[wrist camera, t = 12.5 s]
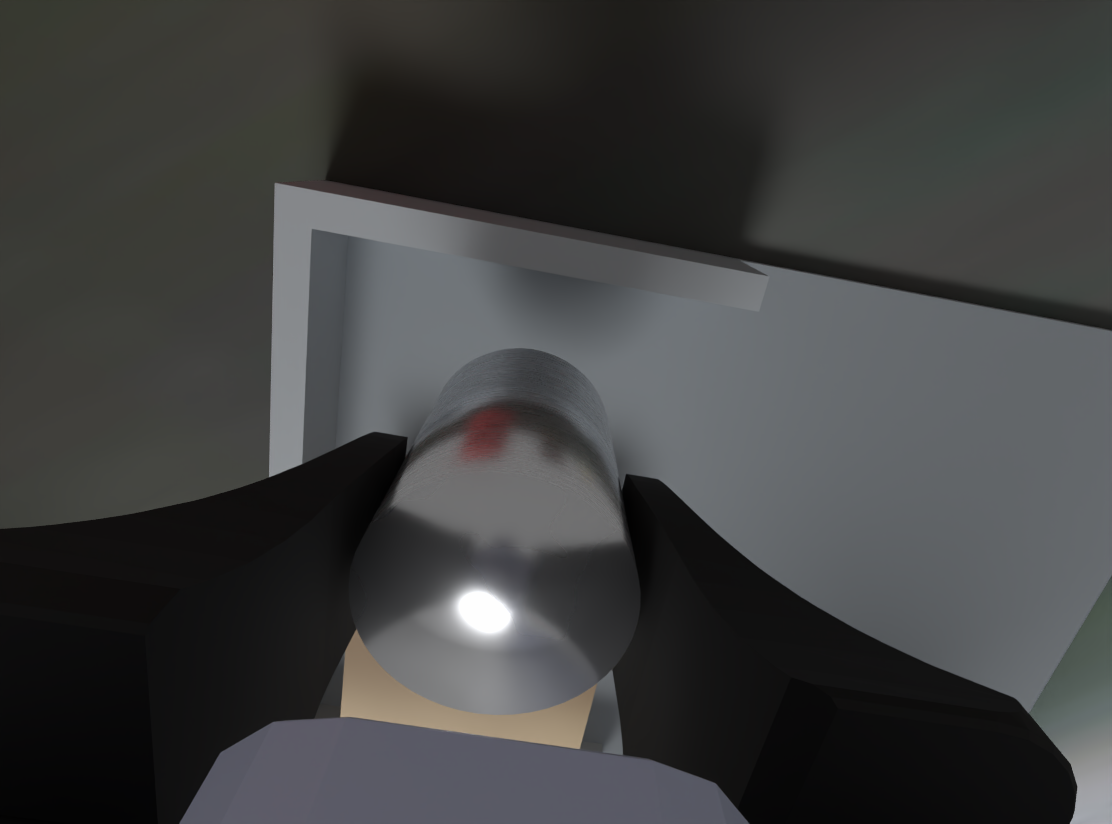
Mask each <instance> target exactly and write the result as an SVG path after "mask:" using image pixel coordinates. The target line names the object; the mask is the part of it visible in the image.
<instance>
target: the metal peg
mask: <svg viewBox="0 0 1112 824" xmlns="http://www.w3.org/2000/svg"><path fill="white" fill-rule="evenodd" d="M348 586H349V603H350V609H351V614H352V618H353V620H354V623H355V626H356V629H357V631H358V633H359V635H360V637H361V639H362V641H363V643H364V645H365V646H366V648H367V649H368V651H369V652H370V654H371V655H372V656H373V658H374V659H375V660H376V661H377V662H378V663H379V665H380V666H381V667H382V668H383V669H384V670H385V671H386V672H387V673H388V674H390V675H391V676H392V677H393V678H394V679H395V680H397V681H398V682H399V683H401V684H402V685H404V686H405V687H407V688H408V689H410V690H411V691H413V692H415V693H416V694H418V695H420V696H422V697H424V698H426V699H428V700H430V701H433V702H435V703H438V704H441V705H443V706H446V707H450V708H453V709H457V710H460V711H466V712H472V713H477V714H489V715H514V714H522V713H530V712H534V711H539V710H543V709H547V708H550V707H553V706H556V705H559V704H562V703H564V702H566V701H568V700H570V699H573V698H575V697H577V696H579V695H580V694H582V693H584V692H585V691H587V690H588V689H590V688H591V687H593V686H594V685H595V684H597V683H598V682H599V681H600V680H602V679H603V678H604V677H605V676H606V675H607V674H608V673H609V672H610V671H611V670H612V669H613V668H614V667H615V666H616V664H617V663H618V662H619V660H620V659H621V657H622V656H623V655H624V653H625V652H626V650H627V648H628V646H629V644H630V642H631V640H632V638H633V635H634V632H635V630H636V627H637V624H638V618H639V613H640V595H641V592H640V585H639V578H638V572H637V567H636V562H635V557H634V552H633V547H632V541H631V536H630V531H629V526H628V521H627V516H626V511H625V506H624V500H623V495H622V490H621V485H620V480H619V475H618V470H617V464H616V459H615V454H614V449H613V444H612V439H611V434H610V429H609V423H608V418H607V414H606V411H605V407H604V404H603V402H602V400H601V398H600V395H599V394H598V392H597V390H596V389H595V387H594V386H593V384H592V383H591V382H590V381H589V380H588V378H587V377H586V376H585V375H584V374H583V373H581V372H580V371H579V370H578V369H577V368H576V367H574V366H573V365H571V364H570V363H568V362H567V361H565V360H563V359H561V358H559V357H557V356H555V355H552V354H549V353H546V352H543V351H538V350H534V349H524V348H513V349H504V350H497V351H494V352H491V353H487V354H484V355H482V356H480V357H478V358H476V359H474V360H472V361H470V362H469V363H467V364H466V365H464V366H463V367H462V368H461V369H459V370H458V371H457V372H456V373H455V374H454V375H453V376H452V377H451V378H450V379H449V380H448V382H447V383H446V385H445V386H444V388H443V389H442V391H441V393H440V395H439V396H438V398H437V400H436V402H435V404H434V406H433V408H432V409H431V411H430V413H429V415H428V417H427V419H426V421H425V422H424V424H423V426H422V428H421V430H420V432H419V434H418V435H417V437H416V439H415V441H414V443H413V445H412V447H411V448H410V450H409V452H408V454H407V456H406V458H405V460H404V461H403V463H402V465H401V467H400V469H399V471H398V473H397V474H396V476H395V478H394V480H393V482H392V484H391V486H390V487H389V489H388V491H387V493H386V495H385V497H384V499H383V500H382V502H381V504H380V506H379V508H378V510H377V512H376V513H375V515H374V517H373V519H372V521H371V523H370V525H369V526H368V528H367V530H366V532H365V534H364V536H363V538H362V540H361V542H360V544H359V546H358V548H357V550H356V552H355V555H354V558H353V562H352V565H351V569H350V576H349V583H348Z"/></svg>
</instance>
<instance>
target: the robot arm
mask: <svg viewBox="0 0 1112 824" xmlns="http://www.w3.org/2000/svg"><path fill="white" fill-rule="evenodd" d="M407 440H408V437H404V436H398V435H393V434H387V433H381V432H371V433H368V434H366V435H364V436H361V437H359V438H357V439H355V440H353V441H351V442H349V443H346V444H344V445H342V446H340V447H338V448H336V449H334V450H332V451H330V452H327V453H325V454H323V455H321V456H319V457H317V458H314V459H312V460H310V461H308V462H306V463H303V464H301V465H298V466H296V467H293V468H291V469H288V470H286V471H283V472H281V473H278V474H276V475H274V476H271V477H269V478H266V479H264V480H261V481H258V482H255V483H253V484H250V485H247V486H244V487H241V488H237V489H234V490H231V491H227V492H224V493H221V494H217V495H214V496H210V497H207V498H203V499H199V500H195V501H191V502H186V503H181V504H177V505H172V506H167V507H163V508H158V509H153V510H149V511H144V512H139V513H134V514H128V515H122V516H116V517H109V518H103V519H96V520H89V521H81V522H73V523H64V524H56V525H46V526H36V527H24V528H9V529H0V824H1070V822H1071V820H1072V818H1073V814H1074V811H1075V802H1076V794H1077V784H1076V781H1075V777H1074V774H1073V771H1072V767H1071V764H1070V763H1069V762H1068V760H1067V759H1066V758H1065V757H1064V756H1063V754H1062V753H1061V752H1060V751H1059V750H1058V748H1057V747H1056V746H1055V745H1054V744H1053V742H1052V741H1051V740H1050V739H1049V737H1048V736H1047V735H1046V734H1045V733H1044V731H1043V730H1042V729H1041V728H1040V727H1039V725H1038V724H1037V723H1036V722H1035V721H1034V719H1033V718H1032V717H1031V716H1030V714H1029V713H1028V712H1027V711H1026V710H1025V708H1024V707H1023V706H1022V705H1021V704H1020V702H1019V701H1018V700H1017V699H1015V698H1014V697H1011V696H1009V695H1006V694H1004V693H1001V692H998V691H996V690H993V689H991V688H988V687H986V686H983V685H981V684H978V683H976V682H973V681H971V680H968V679H965V678H963V677H960V676H958V675H955V674H953V673H950V672H948V671H945V670H943V669H940V668H938V667H935V666H933V665H930V664H928V663H926V662H923V661H921V660H919V659H917V658H915V657H913V656H911V655H908V654H906V653H904V652H902V651H900V650H898V649H896V648H893V647H891V646H889V645H887V644H885V643H883V642H881V641H879V640H877V639H875V638H873V637H871V636H869V635H867V634H865V633H863V632H861V631H859V630H857V629H855V628H853V627H852V626H850V625H848V624H846V623H845V622H843V621H841V620H839V619H838V618H836V617H834V616H832V615H831V614H829V613H827V612H825V611H824V610H822V609H820V608H818V607H817V606H815V605H813V604H812V603H810V602H809V601H807V600H805V599H804V598H802V597H800V596H799V595H797V594H796V593H794V592H793V591H792V590H790V589H789V588H787V587H786V586H784V585H783V584H781V583H780V582H778V581H777V580H775V579H774V578H773V577H771V576H770V575H768V574H767V573H766V572H764V571H763V570H762V569H760V568H759V567H757V566H756V565H755V564H754V563H752V562H751V561H750V560H749V559H747V558H746V557H745V556H744V555H743V554H741V553H740V552H739V551H738V550H736V549H735V548H734V547H733V546H732V545H730V544H729V543H728V542H727V541H726V540H725V539H723V538H722V537H721V536H720V535H719V534H718V533H717V532H716V531H714V530H713V529H712V528H711V527H710V526H709V525H708V524H707V523H706V522H705V521H704V520H703V519H701V518H700V517H699V516H698V515H697V514H696V513H695V512H694V511H693V510H692V509H691V508H690V507H689V506H688V505H687V504H686V503H685V502H684V501H683V500H682V499H681V498H679V497H678V496H677V495H676V494H675V493H674V492H673V491H672V490H671V489H670V488H669V487H668V486H667V485H665V484H664V483H663V482H662V481H660V480H659V479H655V478H649V477H643V476H637V475H631V474H626V476H625V480H624V484H623V488H622V495H623V500H624V506H625V511H626V516H627V521H628V526H629V531H630V536H631V541H632V547H633V552H634V557H635V562H636V567H637V572H638V578H639V585H640V592H641V595H640V613H639V618H638V624H637V627H636V630H635V632H634V635H633V638H632V640H631V642H630V644H629V646H628V648H627V650H626V652H625V653H624V655H623V656H622V657H621V659H620V660H619V662H618V663H617V664H616V666H615V667H614V668H613V669H612V671H613V678H614V684H615V691H616V697H617V704H618V710H619V717H620V726H621V735H622V746H623V755H618V754H611V753H604V752H597V751H590V750H583V749H576V748H569V747H561V746H554V745H547V744H540V743H533V742H526V741H519V740H512V739H505V738H497V737H490V736H483V735H476V734H469V733H462V732H455V731H448V730H441V729H433V728H426V727H419V726H412V725H405V724H398V723H391V722H384V721H377V720H369V719H362V718H355V717H336V718H319V719H314V718H315V716H316V713H317V710H318V708H319V705H320V703H321V700H322V698H323V696H324V693H325V691H326V689H327V687H328V685H329V682H330V680H331V678H332V676H333V674H334V672H335V670H336V668H337V666H338V664H339V662H340V660H341V658H342V656H343V654H344V652H345V650H346V648H347V646H348V644H349V643H350V641H351V639H352V637H353V635H354V633H355V631H356V626H355V623H354V620H353V618H352V614H351V609H350V603H349V586H348V583H349V576H350V569H351V565H352V562H353V558H354V555H355V552H356V550H357V548H358V546H359V544H360V542H361V540H362V538H363V536H364V534H365V532H366V530H367V528H368V526H369V525H370V523H371V521H372V519H373V517H374V515H375V513H376V512H377V510H378V508H379V506H380V504H381V502H382V500H383V499H384V497H385V495H386V493H387V491H388V489H389V487H390V486H391V484H392V482H393V480H394V478H395V476H396V474H397V473H398V471H399V469H400V467H401V465H402V463H403V461H404V460H405V458H406V450H407Z"/></svg>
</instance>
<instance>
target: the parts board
mask: <svg viewBox="0 0 1112 824" xmlns="http://www.w3.org/2000/svg"><path fill="white" fill-rule="evenodd" d="M513 348H524V349H534V350H538V351H543V352H546V353H549V354H552V355H555V356H557V357H559V358H561V359H563V360H565V361H567V362H568V363H570V364H571V365H573V366H574V367H576V368H577V369H578V370H579V371H580V372H581V373H583V374H584V375H585V376H586V377H587V378H588V380H589V381H590V382H591V383H592V384H593V386H594V387H595V389H596V390H597V392H598V394H599V395H600V398H601V400H602V402H603V404H604V407H605V411H606V414H607V418H608V423H609V429H610V434H611V439H612V444H613V449H614V454H615V459H616V464H617V470H618V475H619V480H620V485H621V490H622V488H623V484H624V480H625V476H626V474H631V475H637V476H643V477H649V478H655V479H659V480H660V481H662V482H663V483H664V484H665V485H667V486H668V487H669V488H670V489H671V490H672V491H673V492H674V493H675V494H676V495H677V496H678V497H679V498H681V499H682V500H683V501H684V502H685V503H686V504H687V505H688V506H689V507H690V508H691V509H692V510H693V511H694V512H695V513H696V514H697V515H698V516H699V517H700V518H701V519H703V520H704V521H705V522H706V523H707V524H708V525H709V526H710V527H711V528H712V529H713V530H714V531H716V532H717V533H718V534H719V535H720V536H721V537H722V538H723V539H725V540H726V541H727V542H728V543H729V544H730V545H732V546H733V547H734V548H735V549H736V550H738V551H739V552H740V553H741V554H743V555H744V556H745V557H746V558H747V559H749V560H750V561H751V562H752V563H754V564H755V565H756V566H757V567H759V568H760V569H762V570H763V571H764V572H766V573H767V574H768V575H770V576H771V577H773V578H774V579H775V580H777V581H778V582H780V583H781V584H783V585H784V586H786V587H787V588H789V589H790V590H792V591H793V592H794V593H796V594H797V595H799V596H800V597H802V598H804V599H805V600H807V601H809V602H810V603H812V604H813V605H815V606H817V607H818V608H820V609H822V610H824V611H825V612H827V613H829V614H831V615H832V616H834V617H836V618H838V619H839V620H841V621H843V622H845V623H846V624H848V625H850V626H852V627H853V628H855V629H857V630H859V631H861V632H863V633H865V634H867V635H869V636H871V637H873V638H875V639H877V640H879V641H881V642H883V643H885V644H887V645H889V646H891V647H893V648H896V649H898V650H900V651H902V652H904V653H906V654H908V655H911V656H913V657H915V658H917V659H919V660H921V661H923V662H926V663H928V664H930V665H933V666H935V667H938V668H940V669H943V670H945V671H948V672H950V673H953V674H955V675H958V676H960V677H963V678H965V679H968V680H971V681H973V682H976V683H978V684H981V685H983V686H986V687H988V688H991V689H993V690H996V691H998V692H1001V693H1004V694H1006V695H1009V696H1011V697H1014V698H1015V699H1017V700H1018V701H1019V702H1020V704H1021V705H1022V706H1023V707H1024V708H1025V710H1026V711H1027V712H1028V713H1029V712H1030V711H1031V709H1032V707H1033V706H1034V704H1035V702H1036V701H1037V699H1038V697H1039V696H1040V694H1041V692H1042V691H1043V689H1044V687H1045V686H1046V684H1047V682H1048V681H1049V679H1050V677H1051V676H1052V674H1053V672H1054V671H1055V669H1056V667H1057V666H1058V664H1059V662H1060V661H1061V659H1062V657H1063V656H1064V654H1065V652H1066V651H1067V649H1068V647H1069V646H1070V644H1071V642H1072V641H1073V639H1074V637H1075V636H1076V634H1077V632H1078V631H1079V629H1080V627H1081V626H1082V624H1083V622H1084V621H1085V619H1086V617H1087V616H1088V614H1089V612H1090V611H1091V609H1092V607H1093V606H1094V604H1095V602H1096V601H1097V599H1098V597H1099V596H1100V594H1101V592H1102V591H1103V589H1104V587H1105V586H1106V584H1107V582H1108V581H1109V579H1110V577H1111V576H1112V330H1110V329H1105V328H1099V327H1094V326H1089V325H1084V324H1078V323H1073V322H1068V321H1063V320H1057V319H1052V318H1047V317H1042V316H1036V315H1031V314H1026V313H1021V312H1015V311H1010V310H1005V309H1000V308H994V307H989V306H984V305H979V304H973V303H968V302H963V301H958V300H952V299H947V298H942V297H937V296H931V295H926V294H921V293H916V292H910V291H905V290H900V289H895V288H889V287H884V286H879V285H874V284H868V283H863V282H858V281H853V280H847V279H842V278H837V277H832V276H826V275H821V274H816V273H811V272H805V271H800V270H795V269H790V268H784V267H779V266H774V265H769V264H763V263H758V262H753V261H748V260H742V259H737V258H732V257H727V256H721V255H716V254H711V253H706V252H700V251H695V250H690V249H685V248H679V247H674V246H669V245H664V244H658V243H653V242H648V241H643V240H637V239H632V238H627V237H622V236H616V235H611V234H606V233H601V232H595V231H590V230H585V229H579V228H574V227H569V226H564V225H558V224H553V223H548V222H543V221H537V220H532V219H527V218H522V217H516V216H511V215H506V214H501V213H495V212H490V211H485V210H480V209H474V208H469V207H464V206H459V205H453V204H448V203H443V202H438V201H432V200H427V199H422V198H417V197H411V196H406V195H401V194H396V193H390V192H385V191H380V190H375V189H369V188H364V187H359V186H354V185H348V184H343V183H338V182H333V181H327V180H315V181H298V182H280V183H275V203H274V255H273V307H272V359H271V411H270V463H269V477H271V476H274V475H276V474H278V473H281V472H283V471H286V470H288V469H291V468H293V467H296V466H298V465H301V464H303V463H306V462H308V461H310V460H312V459H314V458H317V457H319V456H321V455H323V454H325V453H327V452H330V451H332V450H334V449H336V448H338V447H340V446H342V445H344V444H346V443H349V442H351V441H353V440H355V439H357V438H359V437H361V436H364V435H366V434H368V433H371V432H381V433H387V434H393V435H398V436H404V437H408V440H407V450H406V456H407V454H408V452H409V450H410V448H411V447H412V445H413V443H414V441H415V439H416V437H417V435H418V434H419V432H420V430H421V428H422V426H423V424H424V422H425V421H426V419H427V417H428V415H429V413H430V411H431V409H432V408H433V406H434V404H435V402H436V400H437V398H438V396H439V395H440V393H441V391H442V389H443V388H444V386H445V385H446V383H447V382H448V380H449V379H450V378H451V377H452V376H453V375H454V374H455V373H456V372H457V371H458V370H459V369H461V368H462V367H463V366H464V365H466V364H467V363H469V362H470V361H472V360H474V359H476V358H478V357H480V356H482V355H484V354H487V353H491V352H494V351H497V350H504V349H513ZM344 662H345V652H344V654H343V656H342V658H341V660H340V662H339V664H338V666H337V668H336V670H335V672H334V674H333V676H332V678H331V680H330V682H329V685H328V687H327V689H326V691H325V693H324V696H323V698H322V700H321V703H320V705H319V708H318V710H317V713H316V716H315V718H314V719H319V718H336V717H340V714H341V701H342V688H343V675H344ZM580 749H583V750H590V751H597V752H604V753H611V754H618V755H623V746H622V735H621V726H620V717H619V710H618V704H617V697H616V691H615V684H614V678H613V671H612V670H611V671H610V672H609V673H608V674H607V675H606V676H605V677H604V678H603V679H602V680H600V681H599V682H598V683H597V686H596V690H595V694H594V697H593V701H592V705H591V709H590V712H589V716H588V720H587V724H586V728H585V731H584V735H583V739H582V743H581V746H580Z"/></svg>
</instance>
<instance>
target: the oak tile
mask: <svg viewBox="0 0 1112 824" xmlns="http://www.w3.org/2000/svg"><path fill="white" fill-rule="evenodd" d="M596 686H597V684H595V685H594V686H593V687H591V688H590V689H588V690H587V691H585V692H584V693H582V694H580V695H579V696H577V697H575V698H573V699H570V700H568V701H566V702H564V703H562V704H559V705H556V706H553V707H550V708H547V709H543V710H539V711H534V712H530V713H522V714H514V715H489V714H477V713H472V712H466V711H460V710H457V709H453V708H450V707H446V706H443V705H441V704H438V703H435V702H433V701H430V700H428V699H426V698H424V697H422V696H420V695H418V694H416V693H415V692H413V691H411V690H410V689H408V688H407V687H405V686H404V685H402V684H401V683H399V682H398V681H397V680H395V679H394V678H393V677H392V676H391V675H390V674H388V673H387V672H386V671H385V670H384V669H383V668H382V667H381V666H380V665H379V663H378V662H377V661H376V660H375V659H374V658H373V656H372V655H371V654H370V652H369V651H368V649H367V648H366V646H365V645H364V643H363V641H362V639H361V637H360V635H359V633H358V631H357V629H356V631H355V633H354V635H353V637H352V639H351V641H350V643H349V644H348V646H347V648H346V650H345V662H344V675H343V688H342V701H341V714H340V717H355V718H362V719H369V720H377V721H384V722H391V723H398V724H405V725H412V726H419V727H426V728H433V729H441V730H448V731H455V732H462V733H469V734H476V735H483V736H490V737H497V738H505V739H512V740H519V741H526V742H533V743H540V744H547V745H554V746H561V747H569V748H576V749H580V746H581V743H582V739H583V735H584V731H585V728H586V724H587V720H588V716H589V712H590V709H591V705H592V701H593V697H594V694H595V690H596Z"/></svg>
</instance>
